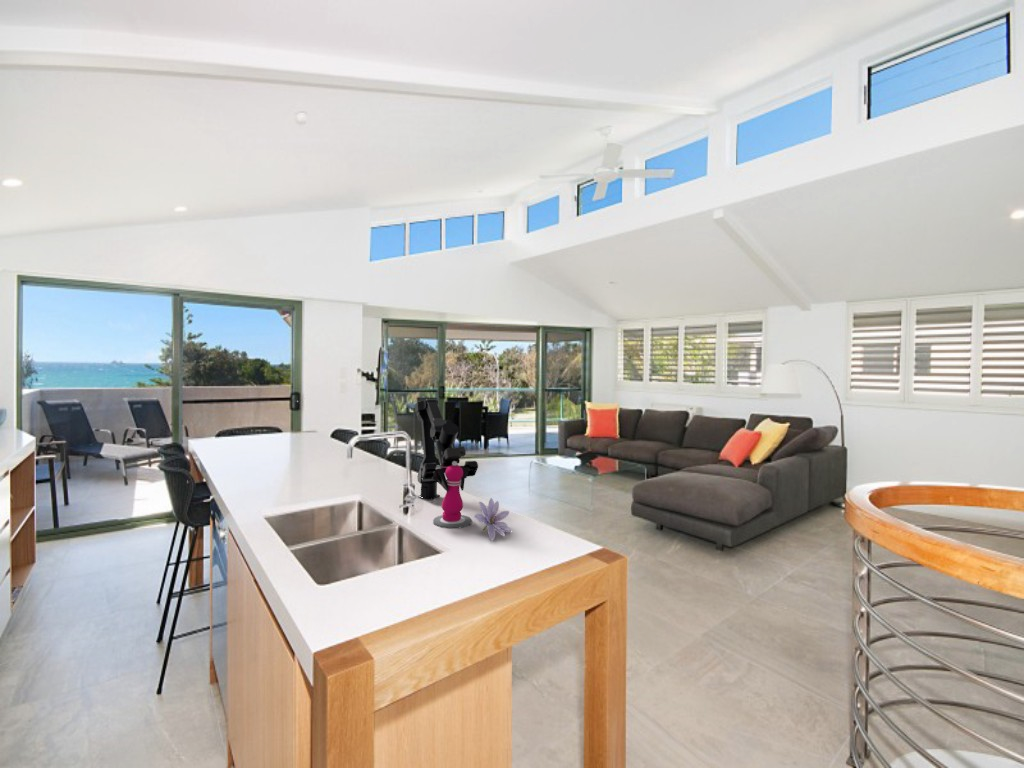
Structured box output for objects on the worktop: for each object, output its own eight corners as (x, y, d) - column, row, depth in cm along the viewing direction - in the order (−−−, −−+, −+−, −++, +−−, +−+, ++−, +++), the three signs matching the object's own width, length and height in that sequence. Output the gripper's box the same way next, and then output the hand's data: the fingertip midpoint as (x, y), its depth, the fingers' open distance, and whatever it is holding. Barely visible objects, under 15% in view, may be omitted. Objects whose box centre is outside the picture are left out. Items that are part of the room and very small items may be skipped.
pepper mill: (446, 512, 174) (449, 456, 172) (465, 516, 172) (469, 460, 170) (437, 519, 168) (440, 461, 165) (456, 523, 165) (460, 465, 163)
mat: (447, 513, 178) (447, 511, 178) (478, 519, 172) (479, 517, 172) (425, 523, 166) (425, 521, 166) (458, 530, 160) (458, 528, 160)
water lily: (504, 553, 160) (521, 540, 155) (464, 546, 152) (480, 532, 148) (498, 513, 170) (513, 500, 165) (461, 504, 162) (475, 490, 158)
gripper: (424, 439, 168) (432, 477, 158) (476, 437, 175) (487, 474, 165) (418, 459, 175) (426, 497, 165) (469, 457, 182) (479, 493, 172)
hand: (455, 490), depth 167 cm, fingers closed on pepper mill, 5 cm apart
